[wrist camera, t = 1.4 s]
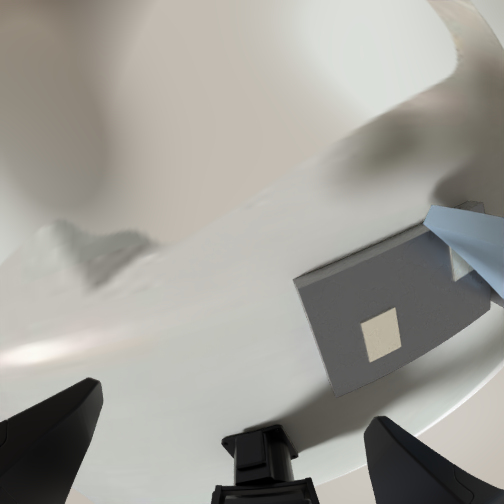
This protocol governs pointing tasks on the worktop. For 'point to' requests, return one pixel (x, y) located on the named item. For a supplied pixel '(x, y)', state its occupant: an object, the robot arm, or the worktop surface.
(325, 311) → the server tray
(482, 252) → the light blue flat slab
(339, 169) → the worktop surface
